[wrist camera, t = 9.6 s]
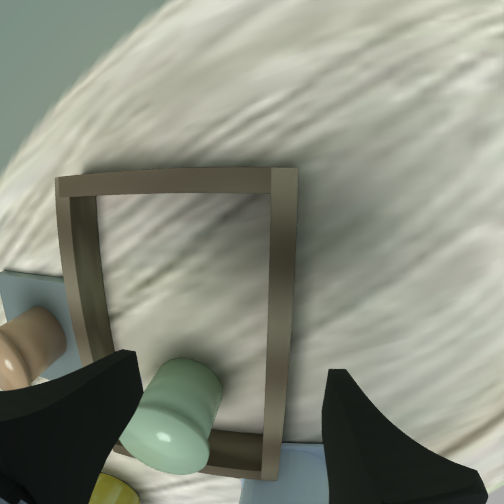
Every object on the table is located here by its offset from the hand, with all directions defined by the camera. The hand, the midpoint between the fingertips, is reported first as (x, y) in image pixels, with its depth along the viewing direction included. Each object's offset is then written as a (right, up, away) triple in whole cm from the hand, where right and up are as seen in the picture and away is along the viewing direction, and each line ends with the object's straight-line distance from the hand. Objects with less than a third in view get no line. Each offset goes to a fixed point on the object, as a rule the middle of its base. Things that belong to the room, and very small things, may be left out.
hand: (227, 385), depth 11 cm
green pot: (-4, -5, +12) cm, 13 cm away
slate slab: (-17, -2, +12) cm, 21 cm away
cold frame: (-4, 0, +10) cm, 11 cm away
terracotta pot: (-16, -2, +11) cm, 20 cm away
